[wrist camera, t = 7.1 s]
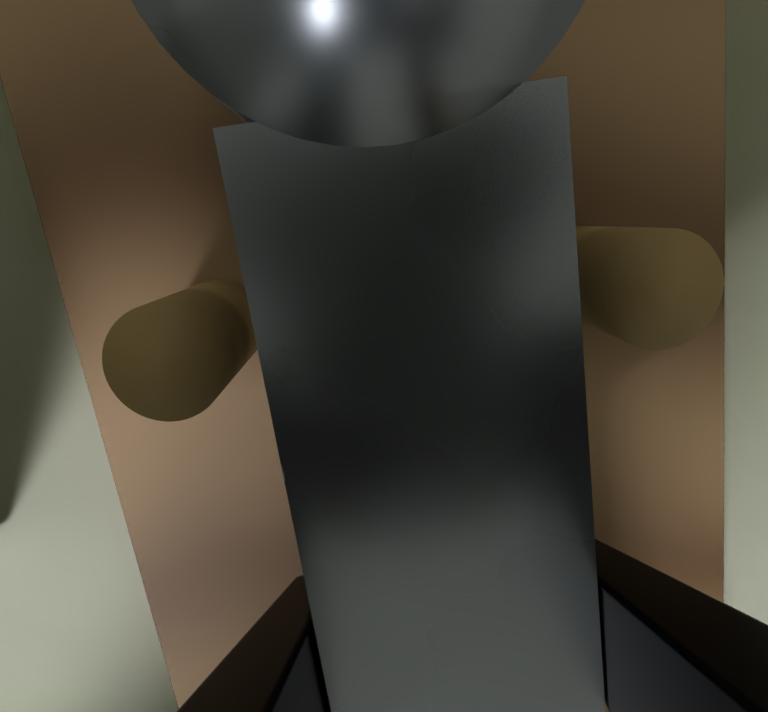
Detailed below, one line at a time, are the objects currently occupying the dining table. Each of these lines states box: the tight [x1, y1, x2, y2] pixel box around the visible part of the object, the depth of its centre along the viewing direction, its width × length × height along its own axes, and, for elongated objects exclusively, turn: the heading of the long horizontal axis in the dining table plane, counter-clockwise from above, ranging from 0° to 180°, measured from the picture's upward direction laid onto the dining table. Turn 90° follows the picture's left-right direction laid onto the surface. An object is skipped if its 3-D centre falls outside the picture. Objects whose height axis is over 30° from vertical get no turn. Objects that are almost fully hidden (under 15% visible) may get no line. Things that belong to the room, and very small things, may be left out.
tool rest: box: [0, 0, 725, 712], centre depth 11 cm, size 26×12×4 cm, turn 8°
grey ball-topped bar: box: [131, 0, 605, 712], centre depth 8 cm, size 21×5×3 cm, turn 8°
